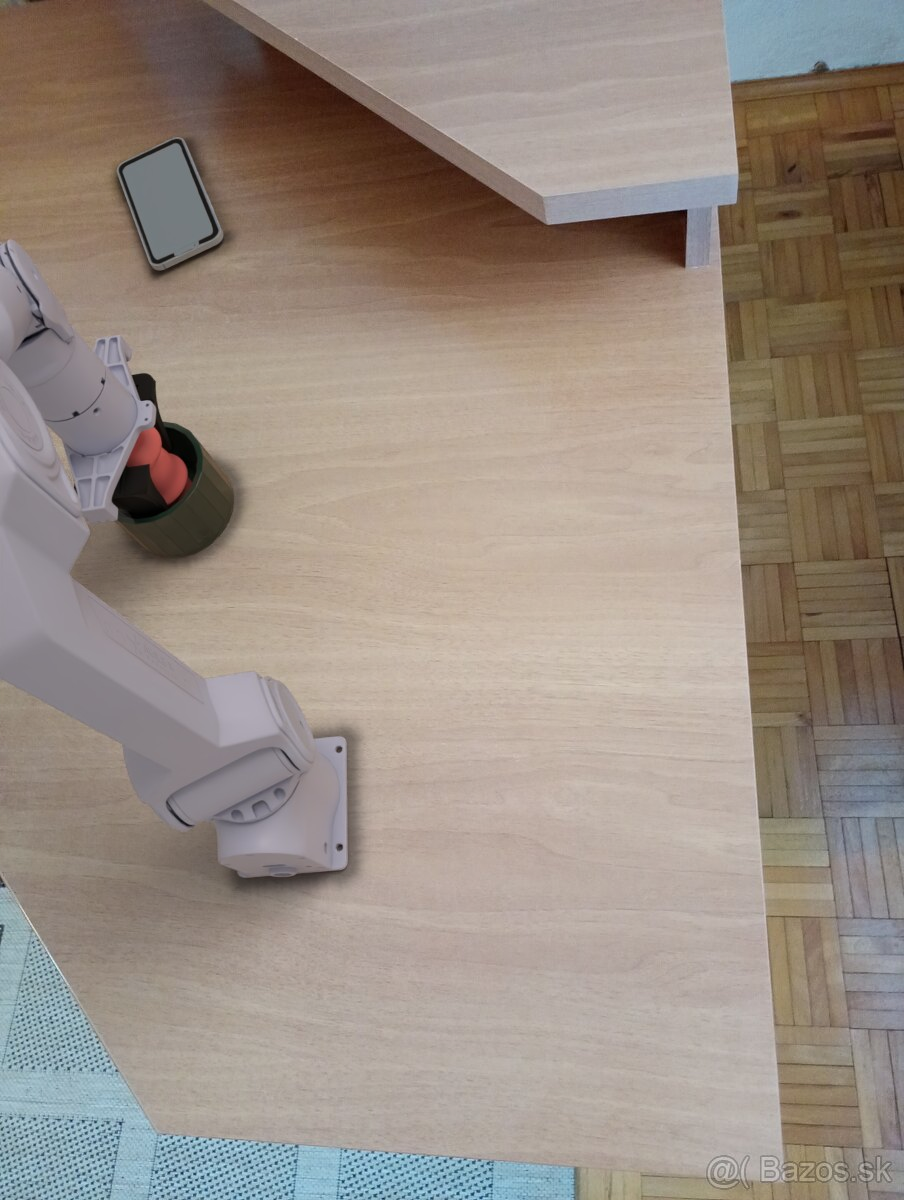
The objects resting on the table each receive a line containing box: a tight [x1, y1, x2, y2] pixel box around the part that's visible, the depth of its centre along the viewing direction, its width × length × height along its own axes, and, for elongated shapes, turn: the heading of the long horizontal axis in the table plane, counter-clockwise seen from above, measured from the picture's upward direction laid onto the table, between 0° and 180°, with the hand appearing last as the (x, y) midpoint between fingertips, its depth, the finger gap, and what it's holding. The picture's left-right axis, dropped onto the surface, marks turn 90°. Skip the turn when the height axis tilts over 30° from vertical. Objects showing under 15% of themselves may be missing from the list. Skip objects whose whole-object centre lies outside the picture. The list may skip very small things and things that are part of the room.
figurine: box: [126, 427, 192, 509], centre depth 80 cm, size 5×5×15 cm
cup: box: [114, 421, 235, 559], centre depth 86 cm, size 9×9×6 cm
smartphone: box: [116, 136, 224, 271], centre depth 102 cm, size 7×1×15 cm
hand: (157, 481), depth 84 cm, fingers closed on figurine, 5 cm apart
